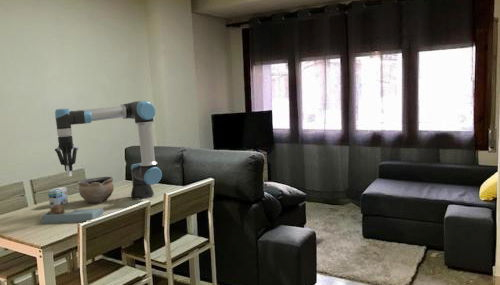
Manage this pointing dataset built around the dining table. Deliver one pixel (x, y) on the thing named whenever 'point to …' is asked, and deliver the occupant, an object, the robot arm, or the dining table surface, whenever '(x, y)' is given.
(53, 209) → the walnut block
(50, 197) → the white toy van
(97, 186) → the ceramic bowl
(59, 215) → the box
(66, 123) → the robot arm
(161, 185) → the dining table surface
